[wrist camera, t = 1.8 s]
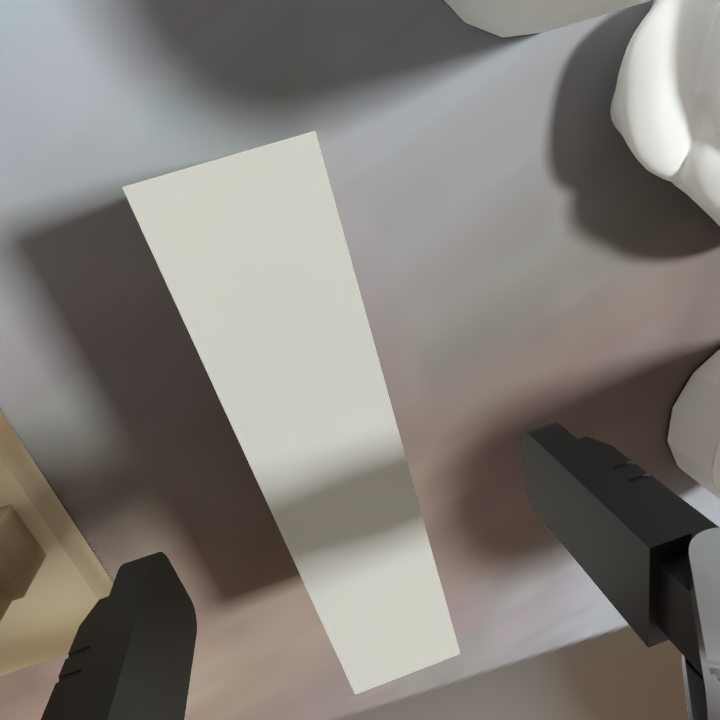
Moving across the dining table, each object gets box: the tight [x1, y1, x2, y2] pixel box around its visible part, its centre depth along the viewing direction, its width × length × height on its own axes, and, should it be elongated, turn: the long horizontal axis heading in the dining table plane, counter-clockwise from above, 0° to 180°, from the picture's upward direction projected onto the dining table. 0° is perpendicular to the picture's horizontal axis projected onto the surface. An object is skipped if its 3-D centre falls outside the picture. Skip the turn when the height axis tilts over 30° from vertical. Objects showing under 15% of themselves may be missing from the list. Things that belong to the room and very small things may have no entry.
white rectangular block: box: [122, 131, 460, 695], centre depth 13 cm, size 14×3×5 cm, turn 15°
